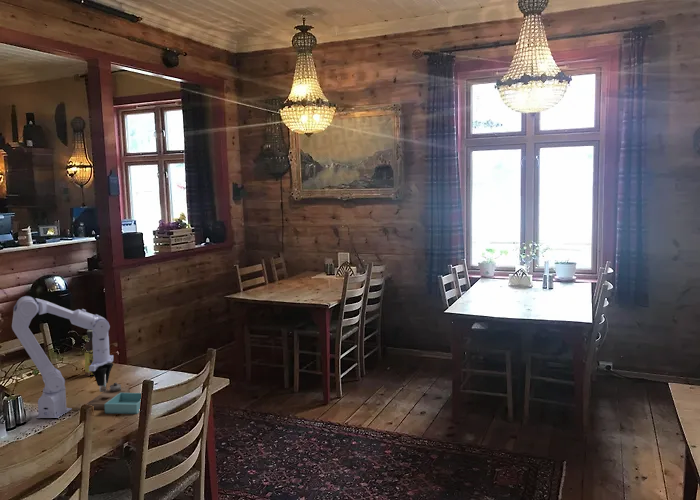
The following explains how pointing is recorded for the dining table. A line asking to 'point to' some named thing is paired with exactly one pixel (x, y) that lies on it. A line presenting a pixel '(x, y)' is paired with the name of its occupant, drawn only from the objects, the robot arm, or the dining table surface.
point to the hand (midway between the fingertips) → (102, 384)
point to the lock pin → (103, 388)
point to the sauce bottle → (88, 355)
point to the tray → (124, 404)
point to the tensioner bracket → (107, 396)
